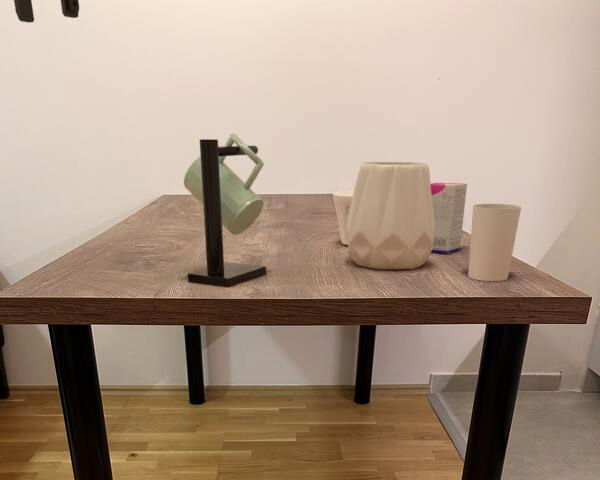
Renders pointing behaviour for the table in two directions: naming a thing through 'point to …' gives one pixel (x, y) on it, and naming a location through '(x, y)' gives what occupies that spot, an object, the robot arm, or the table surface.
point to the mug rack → (218, 222)
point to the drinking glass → (492, 241)
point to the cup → (343, 211)
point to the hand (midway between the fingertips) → (48, 19)
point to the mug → (231, 190)
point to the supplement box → (448, 216)
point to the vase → (391, 216)
